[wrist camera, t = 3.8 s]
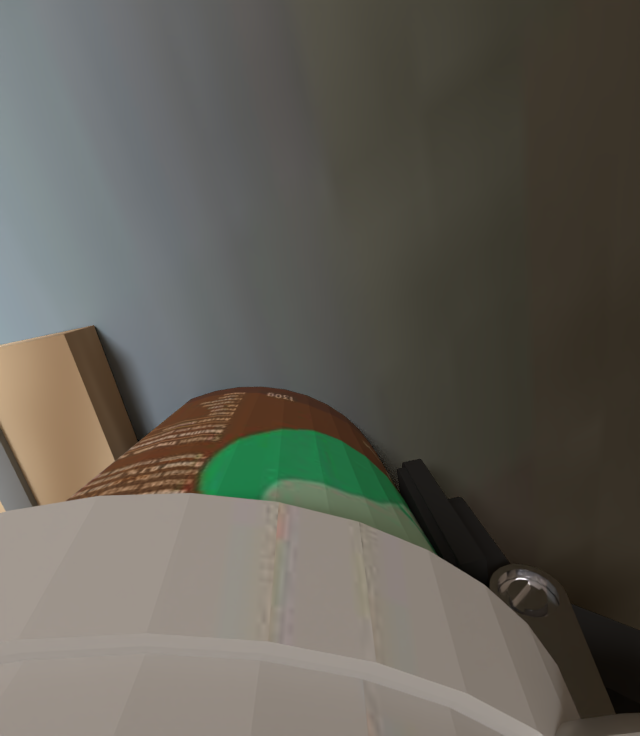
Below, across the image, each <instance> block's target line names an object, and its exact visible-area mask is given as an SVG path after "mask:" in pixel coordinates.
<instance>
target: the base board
mask: <svg viewBox="0 0 640 736" xmlns="http://www.w3.org/2000/svg"><path fill="white" fill-rule="evenodd" d="M136 443H138V441H137V438H136V436H135V433H134V430H133V428H132V425H131V423H130V420H129V417H128V415H127V412H126V409H125V407H124V404H123V401H122V399H121V396H120V393H119V391H118V388H117V385H116V383H115V380H114V377H113V375H112V372H111V369H110V367H109V364H108V362H107V359H106V356H105V354H104V351H103V348H102V346H101V343H100V340H99V338H98V335H97V332H96V330H95V327H94V325H93V326H88V327H84V328H79V329H74V330H69V331H65V332H60V333H55V334H50V335H46V336H41V337H36V338H31V339H27V340H22V341H17V342H12V343H8V344H3V345H0V513H2V512H6V511H10V510H16V509H23V508H29V507H35V506H41V505H47V504H53V503H59V502H65V501H66V500H67V499H69V498H70V497H71V496H72V495H74V494H75V493H76V492H77V491H78V490H80V489H81V488H82V487H83V486H85V485H86V484H87V483H88V482H90V481H91V480H92V479H93V478H95V477H96V476H97V475H98V474H99V473H101V472H102V471H103V470H104V469H106V468H107V467H108V466H109V465H111V464H112V463H113V462H114V461H115V460H117V459H118V458H119V457H120V456H122V455H123V454H124V453H125V452H127V451H128V450H129V449H130V448H131V447H133V446H134V445H135V444H136Z"/></svg>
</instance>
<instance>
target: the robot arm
mask: <svg viewBox="0 0 640 736" xmlns="http://www.w3.org/2000/svg"><path fill="white" fill-rule="evenodd" d="M397 475H398V481H399V487H400V493H401V495H402V497H403V499H404V500H405V502H406V504H407V505H408V507H409V509H410V510H411V512H412V514H413V515H414V517H415V519H416V520H417V522H418V523H419V525H420V527H421V528H422V530H423V532H424V533H425V535H426V537H427V538H428V540H429V542H430V543H431V545H432V547H433V548H434V550H435V551H436V553H437V555H438V556H439V557H440V558H442V559H444V560H445V561H447V562H448V563H450V564H452V565H453V566H455V567H456V568H458V569H460V570H461V571H463V572H465V573H466V574H468V575H469V576H471V577H473V578H474V579H476V580H478V581H479V582H481V583H482V584H484V585H485V586H486V587H488V588H489V589H490V590H491V591H492V592H493V593H494V594H495V595H496V596H497V597H499V598H500V599H501V600H502V601H503V602H504V603H505V604H506V605H507V606H508V607H510V608H511V609H512V610H513V611H514V612H515V613H516V614H517V615H518V616H519V617H521V618H522V619H523V620H524V621H525V622H526V623H527V624H528V625H529V627H530V628H531V629H532V631H533V632H534V634H535V635H536V636H537V638H538V639H539V640H540V642H541V643H542V645H543V646H544V647H545V649H546V650H547V652H548V653H549V654H550V656H551V657H552V658H553V660H554V661H555V663H556V664H557V666H558V668H559V670H560V672H561V675H562V677H563V679H564V682H565V684H566V686H567V688H568V691H569V693H570V695H571V698H572V700H573V702H574V705H575V707H576V709H577V711H578V714H579V716H580V718H581V719H579V720H573V721H568V722H563V723H562V724H561V725H560V726H559V728H558V730H557V732H556V734H555V736H640V631H639V630H637V629H634V628H632V627H629V626H627V625H624V624H622V623H619V622H616V621H614V620H611V619H609V618H606V617H604V616H601V615H599V614H596V613H594V612H591V611H588V610H586V609H583V608H581V607H578V606H576V605H573V604H571V603H570V601H569V598H568V596H567V594H566V592H565V590H564V589H563V587H562V585H561V584H560V583H559V582H558V581H557V580H556V579H555V578H554V577H553V576H551V575H549V574H548V573H546V572H544V571H543V570H541V569H538V568H535V567H533V566H530V565H523V564H510V563H509V561H508V560H507V559H506V557H505V556H504V555H503V553H502V552H501V550H500V549H499V548H498V546H497V545H496V544H495V542H494V541H493V539H492V538H491V537H490V535H489V534H488V533H487V531H486V530H485V528H484V527H483V526H482V524H481V523H480V522H479V520H478V519H477V517H476V516H475V515H474V513H473V512H472V510H471V509H470V508H469V506H468V505H467V504H466V502H465V501H464V500H463V499H462V498H461V497H456V498H452V499H447V498H446V496H445V495H444V493H443V492H442V490H441V489H440V487H439V486H438V484H437V483H436V481H435V480H434V478H433V477H432V475H431V473H430V472H429V470H428V469H427V467H426V466H425V464H424V463H423V461H422V460H421V459H417V460H412V461H408V462H403V463H402V468H399V469H397Z"/></svg>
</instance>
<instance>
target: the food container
mask: <svg viewBox="0 0 640 736" xmlns="http://www.w3.org/2000/svg"><path fill="white" fill-rule="evenodd" d="M579 719H581V718H580V716H579V714H578V711H577V709H576V707H575V705H574V702H573V700H572V698H571V695H570V693H569V691H568V688H567V686H566V684H565V682H564V679H563V677H562V675H561V672H560V670H559V668H558V666H557V664H556V663H555V661H554V660H553V658H552V657H551V656H550V654H549V653H548V652H547V650H546V649H545V647H544V646H543V645H542V643H541V642H540V640H539V639H538V638H537V636H536V635H535V634H534V632H533V631H532V629H531V628H530V627H529V625H528V624H527V623H526V622H525V621H524V620H523V619H522V618H521V617H519V616H518V615H517V614H516V613H515V612H514V611H513V610H512V609H511V608H510V607H508V606H507V605H506V604H505V603H504V602H503V601H502V600H501V599H500V598H499V597H497V596H496V595H495V594H494V593H493V592H492V591H491V590H490V589H489V588H488V587H486V586H485V585H484V584H482V583H481V582H479V581H478V580H476V579H474V578H473V577H471V576H469V575H468V574H466V573H465V572H463V571H461V570H460V569H458V568H456V567H455V566H453V565H452V564H450V563H448V562H447V561H445V560H444V559H442V558H440V557H439V556H438V555H437V553H436V551H435V550H434V548H433V547H432V545H431V543H430V542H429V540H428V538H427V537H426V535H425V533H424V532H423V530H422V528H421V527H420V525H419V523H418V522H417V520H416V519H415V517H414V515H413V514H412V512H411V510H410V509H409V507H408V505H407V504H406V502H405V500H404V499H403V497H402V495H401V494H400V492H399V490H398V489H397V487H396V486H395V484H394V482H393V481H392V479H391V477H390V476H389V474H388V472H387V471H386V469H385V467H384V466H383V464H382V462H381V461H380V459H379V458H378V456H377V454H376V453H375V451H374V449H373V448H372V446H371V444H370V443H369V442H368V440H367V439H366V438H365V437H364V435H363V434H362V433H361V431H360V430H359V429H358V428H357V427H356V426H355V425H354V424H353V423H352V422H350V421H349V420H348V419H347V418H346V417H345V416H344V415H342V414H341V413H339V412H338V411H336V410H335V409H333V408H332V407H330V406H328V405H327V404H325V403H322V402H320V401H318V400H316V399H314V398H311V397H309V396H307V395H303V394H300V393H296V392H292V391H289V390H285V389H277V388H269V387H237V388H231V389H225V390H219V391H214V392H211V393H208V394H205V395H202V396H199V397H196V398H193V399H191V400H189V401H188V402H187V403H186V404H184V405H183V406H182V407H181V408H179V409H178V410H177V411H176V412H175V413H173V414H172V415H171V416H170V417H168V418H167V419H166V420H165V421H163V422H162V423H161V424H160V425H159V426H157V427H156V428H155V429H154V430H152V431H151V432H150V433H149V434H147V435H146V436H145V437H144V438H143V439H141V440H140V441H139V442H138V443H136V444H135V445H134V446H133V447H131V448H130V449H129V450H128V451H127V452H125V453H124V454H123V455H122V456H120V457H119V458H118V459H117V460H115V461H114V462H113V463H112V464H111V465H109V466H108V467H107V468H106V469H104V470H103V471H102V472H101V473H99V474H98V475H97V476H96V477H95V478H93V479H92V480H91V481H90V482H88V483H87V484H86V485H85V486H83V487H82V488H81V489H80V490H78V491H77V492H76V493H75V494H74V495H72V496H71V497H70V498H69V499H67V500H66V501H65V502H59V503H53V504H47V505H41V506H35V507H29V508H23V509H16V510H10V511H6V512H2V513H0V736H555V734H556V732H557V730H558V728H559V726H560V725H561V724H562V723H563V722H568V721H573V720H579Z"/></svg>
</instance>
